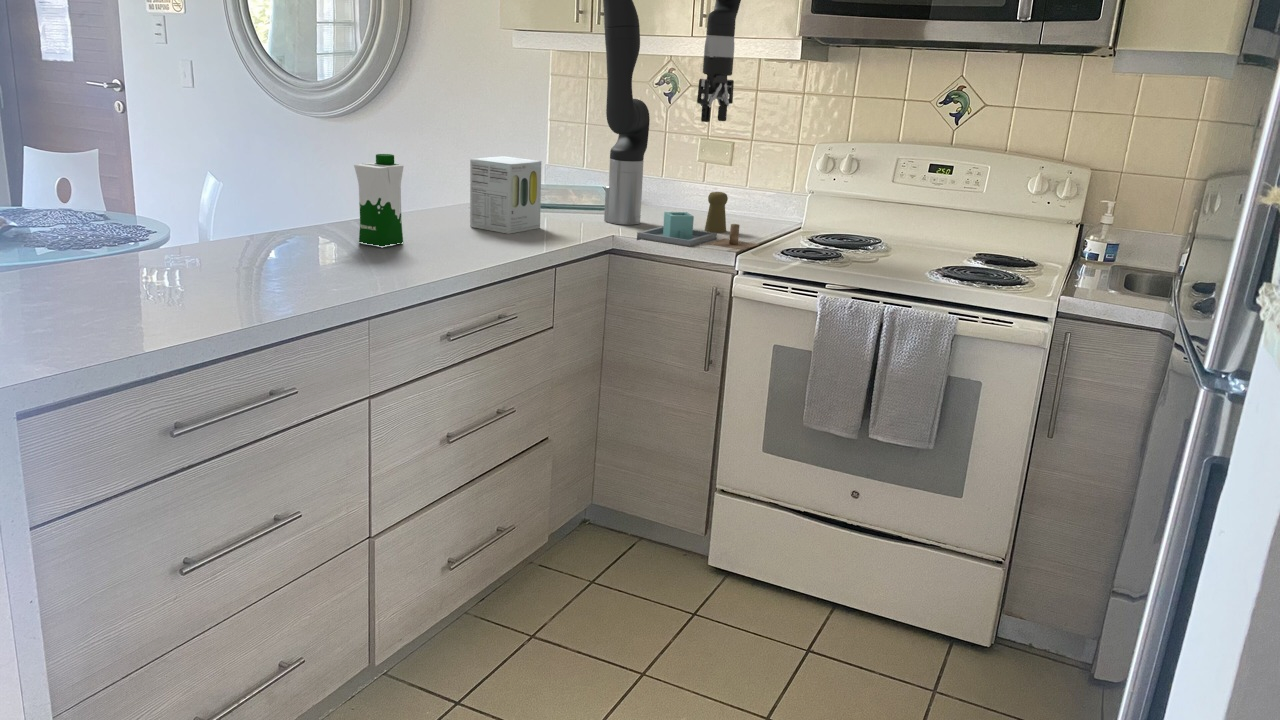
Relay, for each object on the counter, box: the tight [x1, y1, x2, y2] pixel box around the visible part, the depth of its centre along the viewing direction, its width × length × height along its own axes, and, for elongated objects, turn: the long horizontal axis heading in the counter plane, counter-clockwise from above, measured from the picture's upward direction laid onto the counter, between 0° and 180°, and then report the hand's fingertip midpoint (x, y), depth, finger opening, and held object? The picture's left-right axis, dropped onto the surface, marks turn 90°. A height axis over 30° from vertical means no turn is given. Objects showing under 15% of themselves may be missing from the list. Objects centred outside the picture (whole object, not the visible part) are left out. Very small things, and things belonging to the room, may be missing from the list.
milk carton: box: [353, 153, 404, 246], centre depth 212 cm, size 9×9×20 cm
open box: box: [663, 211, 695, 240], centre depth 237 cm, size 8×6×6 cm
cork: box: [704, 191, 729, 234], centre depth 251 cm, size 6×6×11 cm
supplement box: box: [469, 155, 542, 235], centre depth 241 cm, size 13×13×18 cm
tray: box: [636, 225, 718, 248], centre depth 239 cm, size 15×15×2 cm
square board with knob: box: [707, 223, 760, 251], centre depth 235 cm, size 10×10×6 cm
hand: (713, 121), depth 241 cm, fingers open, 8 cm apart
